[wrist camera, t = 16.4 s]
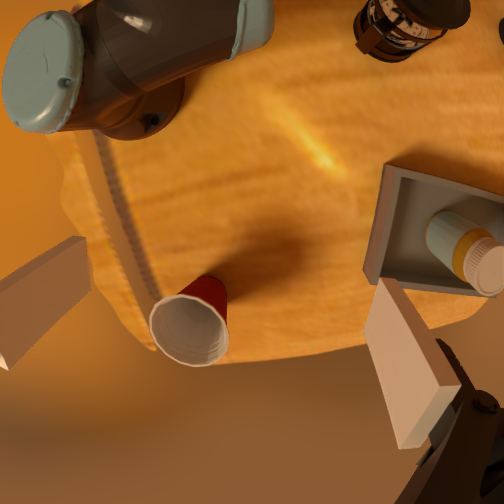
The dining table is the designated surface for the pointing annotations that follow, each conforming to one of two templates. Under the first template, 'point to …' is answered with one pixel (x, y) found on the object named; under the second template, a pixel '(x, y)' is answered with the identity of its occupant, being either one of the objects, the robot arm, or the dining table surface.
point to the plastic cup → (193, 323)
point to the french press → (406, 24)
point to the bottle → (467, 251)
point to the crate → (414, 224)
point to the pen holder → (501, 30)
